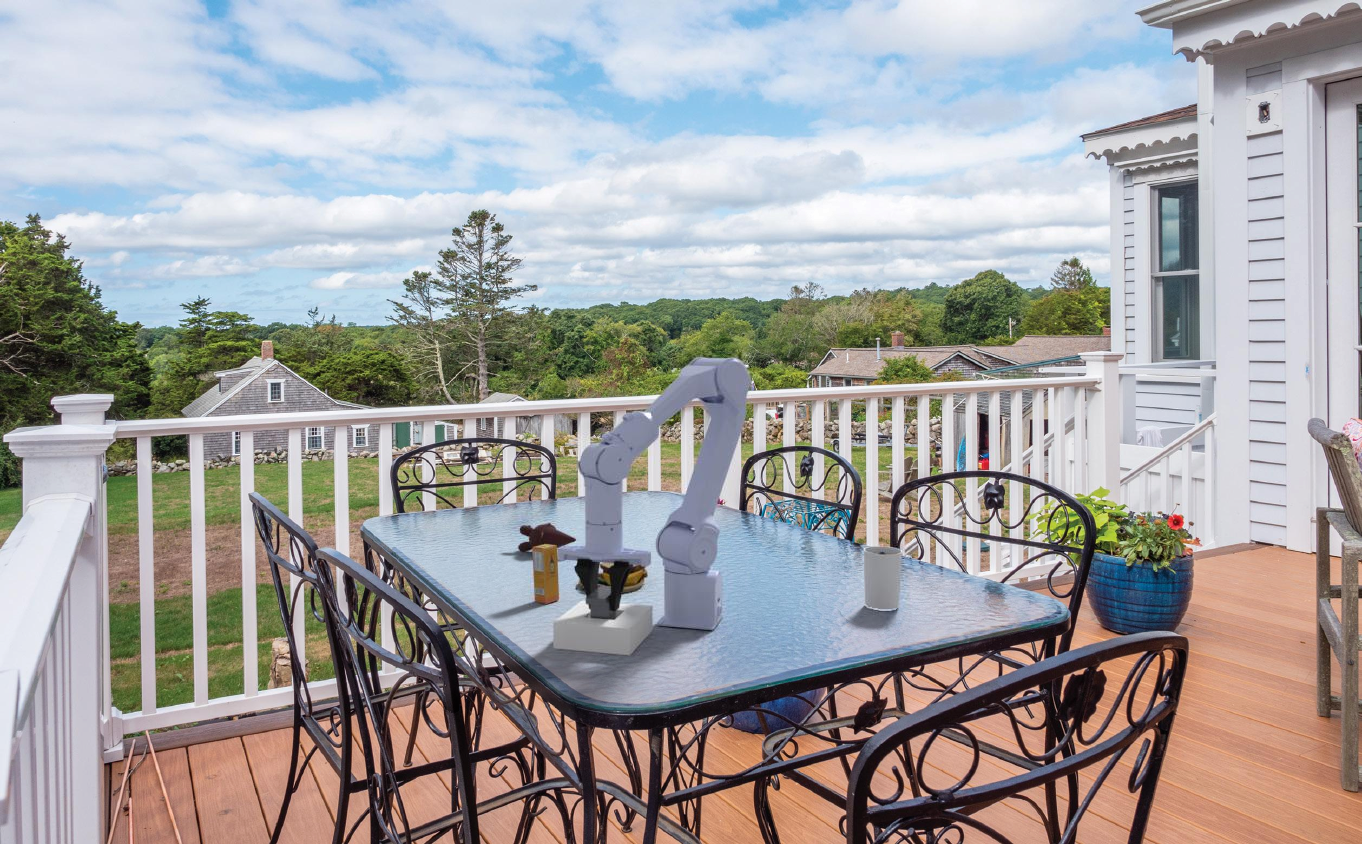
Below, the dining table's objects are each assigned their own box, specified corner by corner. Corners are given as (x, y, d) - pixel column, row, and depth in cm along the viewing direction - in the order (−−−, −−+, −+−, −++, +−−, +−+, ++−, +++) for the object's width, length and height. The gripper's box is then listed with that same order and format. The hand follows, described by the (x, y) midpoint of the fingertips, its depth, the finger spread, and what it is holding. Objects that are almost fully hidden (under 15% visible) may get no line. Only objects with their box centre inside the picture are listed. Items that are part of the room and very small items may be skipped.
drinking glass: (854, 603, 159) (855, 548, 158) (885, 599, 161) (887, 544, 160) (877, 614, 153) (878, 556, 152) (909, 609, 155) (910, 552, 154)
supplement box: (546, 597, 162) (545, 542, 161) (559, 600, 160) (559, 545, 159) (532, 601, 160) (531, 545, 159) (545, 604, 157) (545, 548, 157)
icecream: (586, 524, 196) (530, 524, 203) (566, 521, 189) (509, 521, 196) (584, 556, 195) (528, 555, 202) (564, 555, 188) (507, 553, 195)
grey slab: (619, 624, 141) (619, 586, 141) (604, 638, 135) (604, 598, 134) (601, 622, 142) (601, 585, 142) (585, 636, 135) (585, 597, 135)
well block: (652, 630, 143) (652, 605, 143) (629, 655, 132) (629, 628, 132) (582, 624, 146) (581, 600, 146) (553, 648, 135) (553, 622, 135)
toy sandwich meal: (568, 583, 173) (568, 559, 172) (631, 574, 179) (631, 551, 179) (594, 599, 162) (594, 573, 162) (660, 589, 168) (660, 564, 168)
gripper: (549, 524, 136) (550, 611, 137) (641, 529, 132) (641, 619, 133) (567, 515, 142) (567, 599, 143) (654, 520, 139) (654, 606, 140)
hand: (604, 608), depth 139 cm, fingers closed on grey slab, 3 cm apart
